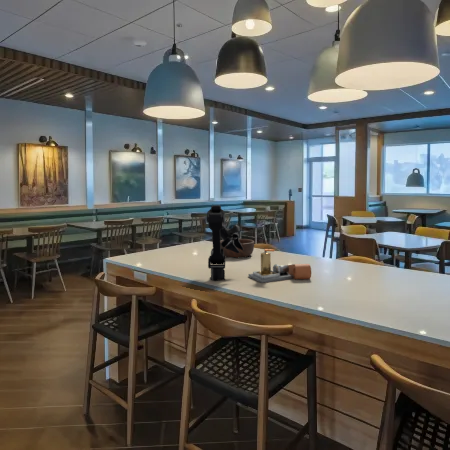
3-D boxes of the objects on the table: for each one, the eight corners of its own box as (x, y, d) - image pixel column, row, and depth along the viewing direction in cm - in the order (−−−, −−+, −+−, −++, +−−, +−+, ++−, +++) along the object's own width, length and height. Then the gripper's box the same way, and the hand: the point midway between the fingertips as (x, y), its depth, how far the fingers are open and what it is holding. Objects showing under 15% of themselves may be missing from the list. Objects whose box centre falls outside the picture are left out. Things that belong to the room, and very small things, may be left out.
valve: (258, 276, 202) (257, 250, 201) (260, 273, 209) (259, 248, 208) (273, 277, 200) (273, 250, 199) (275, 274, 207) (274, 248, 206)
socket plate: (261, 282, 196) (261, 269, 195) (248, 276, 208) (248, 264, 208) (294, 278, 204) (294, 265, 203) (279, 273, 217) (279, 260, 216)
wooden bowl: (244, 260, 254) (244, 245, 253) (212, 257, 266) (212, 242, 265) (260, 254, 275) (260, 240, 274) (230, 251, 288) (229, 237, 287)
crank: (311, 280, 201) (311, 265, 200) (296, 281, 200) (296, 266, 199) (299, 271, 220) (299, 258, 220) (286, 272, 220) (286, 258, 219)
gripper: (226, 222, 202) (247, 244, 200) (235, 218, 219) (254, 238, 218) (212, 236, 205) (232, 258, 203) (222, 232, 223) (241, 251, 221)
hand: (240, 251), depth 211 cm, fingers open, 9 cm apart
